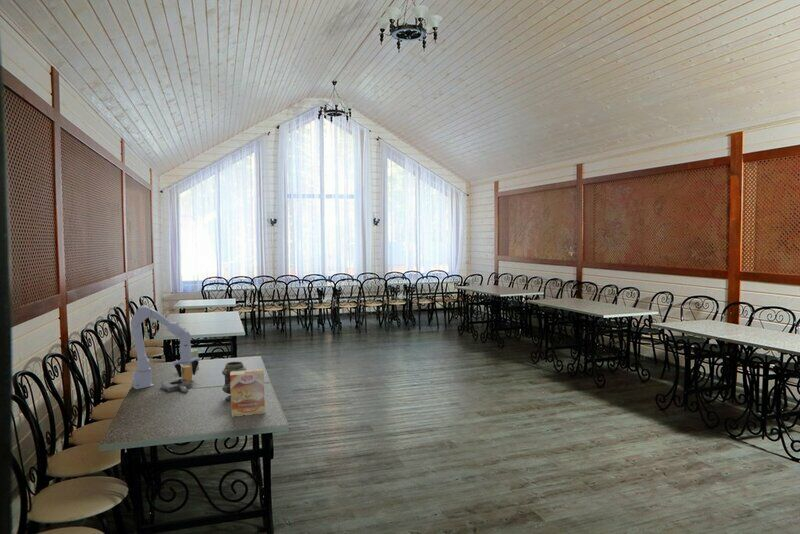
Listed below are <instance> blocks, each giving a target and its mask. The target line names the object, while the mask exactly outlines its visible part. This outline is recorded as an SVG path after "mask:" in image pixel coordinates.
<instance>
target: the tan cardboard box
mask: <svg viewBox="0 0 800 534" xmlns="http://www.w3.org/2000/svg"><path fill="white" fill-rule="evenodd" d="M183 378H184V379H186V380H187V381H189V382H192V381H193V374H192V369H191V366H183V365H182V366H181V379H183Z"/></svg>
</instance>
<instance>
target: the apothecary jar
mask: <svg viewBox="0 0 800 534" xmlns="http://www.w3.org/2000/svg"><path fill="white" fill-rule="evenodd" d="M244 370H248V369H247V367H246V366H244V362H243V361H238V360H237V361H236V360H235V361H230V362H229V361H228V362H226V363H225V366H224V368H223V369H222V370H221V374H222V375H223V376H224V384H223V385H222V391H223V393H225V394H228V396H226V397H225V401H227V402H231V390H230V372H232V371H244Z"/></svg>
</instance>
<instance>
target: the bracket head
mask: <svg viewBox="0 0 800 534" xmlns="http://www.w3.org/2000/svg"><path fill="white" fill-rule="evenodd" d="M160 384H161V385H160V386H161V388H162V389H163V388H164V390H165V391H166V390H167V391H166V392H167V393H171V392H170V391H172V392H175V390H177V391H181V392H182V393H184V394H187V393H188V392H189V389H190V387H191V388H192V387H193V385H192V381H187V380H186V379H184V378H183V379H182V378H178V379H174V380H173V379H172V380H169V381H163V382H160Z"/></svg>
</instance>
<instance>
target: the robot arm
mask: <svg viewBox="0 0 800 534" xmlns="http://www.w3.org/2000/svg"><path fill="white" fill-rule="evenodd" d="M146 319H151V320H152V319H153V320H157V321H158V322H159V323H161V324H162V325H164V326H166V329H167V331H168V332H170V333H171V334H172V335H173V336H175V337H177V338H179V350H180V359H179V360H174V361H172V366H173V367H174V368H175V370H176V372H177V374H178V378H179V379H182V365H183V364H185V363H190V362H191V364H192V376H193V375H196V373H197V370H196V368H197V366H198V364H199V362H200V361H201V360H200V357H199V356H198V357H196V358H191V349H192V343H191V338H192V335H191V333H190V332H189V330H188V329H186V328H185V327H182V326H181V325H180V324H179V323H180V322H179V323H178V322H176V321H170V320H169V319H167V318H166V317H165V316H163V315H162V314H161V313H160V312H159V311H157V310H155V309H154V308H153V307H150V306H149V305H147V304H142V305H141V306H139V307H138V308H137V309H136V310H135V312H134V315H133V317H132V318H131V321H130V325H131V327H130V328H131V331H132V332H131V333H132V336H133V341H134V347H135V351H136V357H137V359H136V361H137V362H136V368H137V369H136V370H135V371H133V372H131V387H132V386H133V387H132V388H133V389H135V390H140V389H145V388H149V387H154V386H155V385H154V383H152V368H151V367H150V365H151V364H150V362H151V361H150V358H149V357H148V355H147V350H146V347H145V341H144V338H143V336H144V335H143V331H142V325H141V324H142V323H144V321H145V320H146Z"/></svg>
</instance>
